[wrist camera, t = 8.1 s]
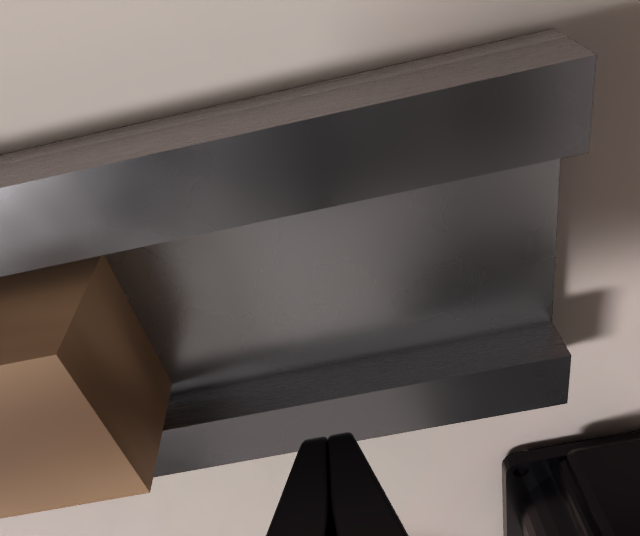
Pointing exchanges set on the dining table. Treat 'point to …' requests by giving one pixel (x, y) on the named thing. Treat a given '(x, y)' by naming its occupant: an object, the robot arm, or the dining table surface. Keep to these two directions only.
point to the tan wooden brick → (75, 390)
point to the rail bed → (330, 246)
